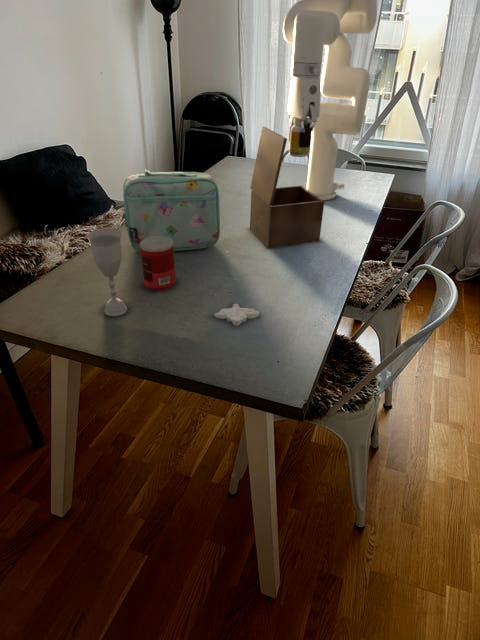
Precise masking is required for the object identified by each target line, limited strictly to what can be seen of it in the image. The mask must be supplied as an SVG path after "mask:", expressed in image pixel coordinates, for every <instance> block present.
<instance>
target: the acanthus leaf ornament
mask: <svg viewBox="0 0 480 640" xmlns="http://www.w3.org/2000/svg"><path fill="white" fill-rule="evenodd" d="M259 315H260V311H258V310H255V309H254V308H248V307H240V305H239V304H238V303H234V304H232V306H231V307H227V308H222V309H219V311H218V312H215V313H214V314H213V317H214V318H217V319H221V320H224V319H226V321H227V322H231V323H232V325H233V326H235V327H238V326H240V325H241V323H245V322H246V321H247V319H255V318H258V317H259Z"/></svg>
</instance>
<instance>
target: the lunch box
mask: <svg viewBox="0 0 480 640" xmlns="http://www.w3.org/2000/svg"><path fill="white" fill-rule="evenodd" d="M122 185H123V186H122V187H123V188H122V191H123V192H122V197H123V209H122V211H123V212H124V213H122V216H121V220H120V222H123V220H124V223H125V228H126V231H127V235H128V240H129V243H130V244H131V247H132V248H133V249H134V250H135V251H137V252H139V253H141V252H140V242H141V241H142V240H143V239H145V238H148V237H152V236H165V237H169V238H171V239H172V240H173V245H174V252H180V251H181V252H182V251H192V250H193V251H194V250H201V249H202V250H203V249H206V248H210V247H212V246H214V245H215V244H217V243H218V242H219V239H220V234H221V211H220V193H219V191H220V190H219V186H218V184H217V183H216V181H215V180H214V178H213V177H212V176H211V175H210V174H208V173H205V172H200V171H199V172H197V171H155V172H153V171H152V172H150V171H149V170H148V169H144V171H143V172H140V173H136V174H133V175H130V176H128V177H126V178H125V180H124V182H123V184H122Z"/></svg>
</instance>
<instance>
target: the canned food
mask: <svg viewBox="0 0 480 640" xmlns="http://www.w3.org/2000/svg"><path fill="white" fill-rule="evenodd" d="M139 253H140V261H141V270H142V278H143V279H142V280H143V284H144V286H145V287H146V288H147V289H149V290H151V291H165V290H168V289H171V288H172V287H173V286H174V285H175V283H176V280H177V279H176V265H175V264H176V261H175V251H174V245H173V240H172V239H171V238H169V237H165V236H152V237H148V238H145V239H143V240H142V241H141V242H140V252H139Z"/></svg>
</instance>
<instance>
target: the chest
mask: <svg viewBox="0 0 480 640" xmlns="http://www.w3.org/2000/svg"><path fill="white" fill-rule="evenodd" d="M324 207H325V200H322V199H320V198H319V197H317V196H316V195H315V194H313V193H312V192H310V191H309V190H307V189H306V187H304V186H303V185H293V186H282V187H281V186H280V187H276V190H275V195H274V199H273V203H272V205H269V204H267V203H266V202H265V201H264V200H263V199H262V198H260V197H259V196H258V195H257V194H256V193H255V192H253V191H252V190H251V189H250V214H249V215H250V217H249V230H250V231H251V232H252V233H253V234H254V235H255V236H256V237H257V239H258V240H259V241H260V242H261V243H262V244H263V245H264V246H265V247H266V248H267V249H272V248H279V247H287V246H294V245H301V244H308V243H317V242H320V240H321V231H322V223H323V215H324Z"/></svg>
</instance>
